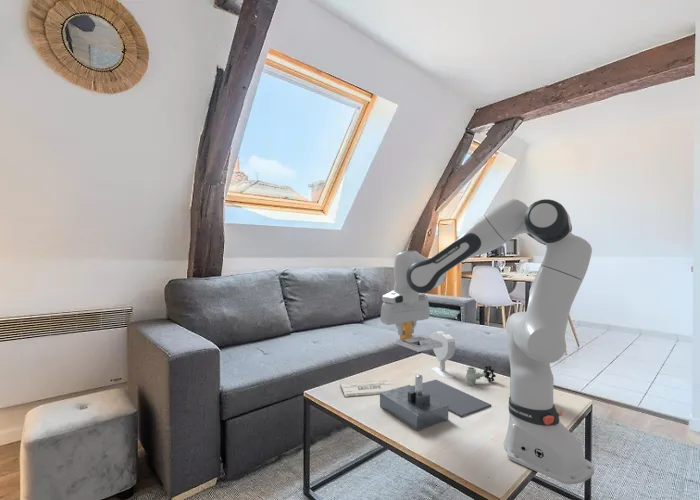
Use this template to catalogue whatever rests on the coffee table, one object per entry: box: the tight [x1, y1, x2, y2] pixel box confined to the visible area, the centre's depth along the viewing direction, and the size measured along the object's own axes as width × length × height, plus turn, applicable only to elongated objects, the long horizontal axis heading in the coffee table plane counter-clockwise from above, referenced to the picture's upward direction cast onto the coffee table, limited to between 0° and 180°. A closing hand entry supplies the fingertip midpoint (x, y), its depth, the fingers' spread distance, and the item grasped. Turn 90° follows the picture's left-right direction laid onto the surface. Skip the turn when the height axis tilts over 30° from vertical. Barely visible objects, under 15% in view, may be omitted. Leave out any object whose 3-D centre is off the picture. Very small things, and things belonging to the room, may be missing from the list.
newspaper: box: [339, 380, 397, 398], centre depth 148 cm, size 23×12×2 cm, turn 101°
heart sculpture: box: [430, 330, 456, 379], centre depth 167 cm, size 16×5×18 cm, turn 15°
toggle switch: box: [379, 374, 449, 431], centre depth 128 cm, size 20×14×14 cm
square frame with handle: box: [395, 322, 443, 353], centre depth 126 cm, size 14×11×7 cm
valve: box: [465, 365, 496, 386], centre depth 155 cm, size 7×7×12 cm
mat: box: [412, 379, 492, 418], centre depth 141 cm, size 28×16×1 cm, turn 31°
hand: (405, 334), depth 130 cm, fingers closed on square frame with handle, 3 cm apart
